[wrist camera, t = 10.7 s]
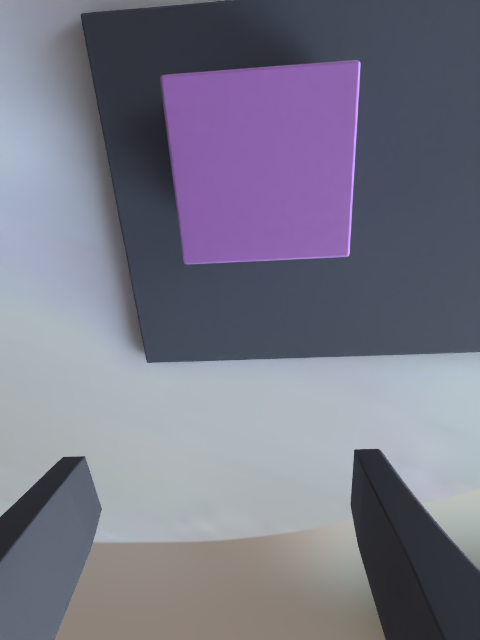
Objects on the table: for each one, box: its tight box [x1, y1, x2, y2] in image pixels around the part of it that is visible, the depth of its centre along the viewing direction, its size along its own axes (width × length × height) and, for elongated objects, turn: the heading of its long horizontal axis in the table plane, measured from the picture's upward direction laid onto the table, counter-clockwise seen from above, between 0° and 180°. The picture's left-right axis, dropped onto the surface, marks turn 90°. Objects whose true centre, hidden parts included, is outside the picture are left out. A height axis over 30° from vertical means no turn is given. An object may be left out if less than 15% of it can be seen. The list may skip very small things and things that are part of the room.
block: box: [160, 60, 361, 264], centre depth 13 cm, size 5×5×5 cm
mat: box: [81, 0, 480, 363], centre depth 16 cm, size 20×14×1 cm
